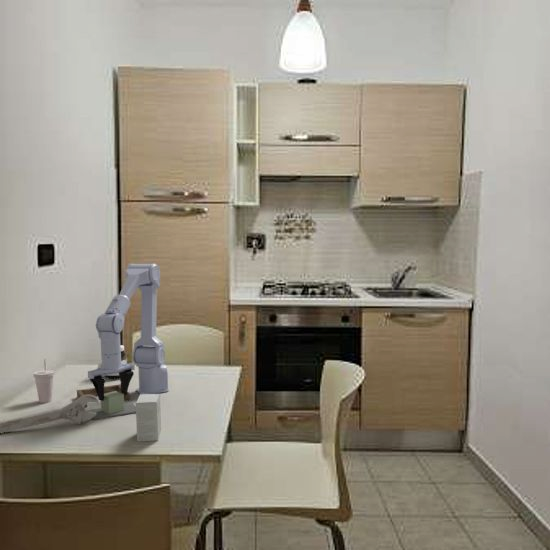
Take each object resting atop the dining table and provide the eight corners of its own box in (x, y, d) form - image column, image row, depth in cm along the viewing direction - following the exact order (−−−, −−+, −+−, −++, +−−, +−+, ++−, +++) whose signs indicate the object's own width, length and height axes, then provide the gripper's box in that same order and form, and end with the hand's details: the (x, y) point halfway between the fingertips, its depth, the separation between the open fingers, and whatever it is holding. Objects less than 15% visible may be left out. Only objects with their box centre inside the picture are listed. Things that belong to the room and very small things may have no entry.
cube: (116, 406, 180) (115, 391, 180) (124, 410, 177) (123, 394, 176) (101, 410, 177) (100, 394, 176) (109, 414, 173) (108, 397, 173)
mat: (132, 404, 184) (132, 403, 184) (139, 412, 176) (139, 410, 176) (86, 411, 177) (86, 410, 177) (92, 420, 169) (92, 418, 169)
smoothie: (48, 404, 185) (46, 361, 184) (30, 403, 187) (28, 361, 186) (59, 399, 192) (57, 357, 190) (42, 398, 193) (40, 356, 192)
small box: (140, 431, 159) (139, 393, 158) (161, 430, 160) (160, 393, 159) (136, 442, 151) (135, 402, 150) (158, 441, 152) (156, 401, 151)
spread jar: (122, 380, 214) (121, 349, 214) (92, 380, 215) (90, 349, 214) (130, 372, 226) (129, 343, 226) (102, 372, 227) (100, 343, 226)
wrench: (-11, 443, 160) (101, 418, 169) (-12, 446, 158) (101, 420, 167) (-16, 416, 159) (97, 391, 168) (-17, 418, 157) (97, 393, 166)
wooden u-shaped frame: (120, 391, 200) (120, 384, 199) (129, 400, 189) (128, 392, 189) (77, 397, 193) (76, 390, 193) (83, 407, 182) (82, 399, 182)
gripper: (125, 347, 183) (127, 389, 184) (82, 355, 173) (84, 399, 174) (137, 350, 178) (139, 394, 179) (93, 358, 168) (95, 404, 169)
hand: (112, 397), depth 176 cm, fingers open, 7 cm apart
